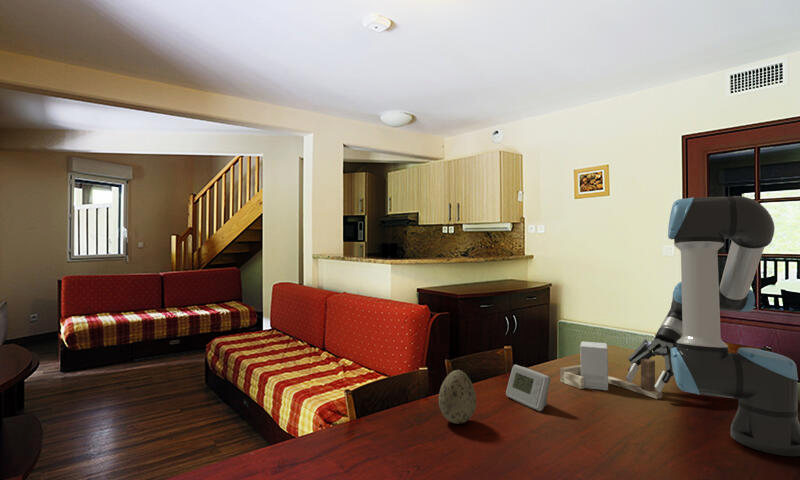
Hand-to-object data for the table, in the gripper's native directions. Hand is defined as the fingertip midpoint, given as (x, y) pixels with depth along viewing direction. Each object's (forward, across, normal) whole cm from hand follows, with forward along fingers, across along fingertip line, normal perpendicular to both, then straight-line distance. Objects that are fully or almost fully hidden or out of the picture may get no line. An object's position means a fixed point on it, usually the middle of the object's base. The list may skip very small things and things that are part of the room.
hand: (642, 384), depth 146 cm
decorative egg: (+51, +10, +45) cm, 68 cm away
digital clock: (+30, +13, +24) cm, 41 cm away
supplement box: (+6, +15, 0) cm, 16 cm away
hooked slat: (+6, +10, 0) cm, 11 cm away
